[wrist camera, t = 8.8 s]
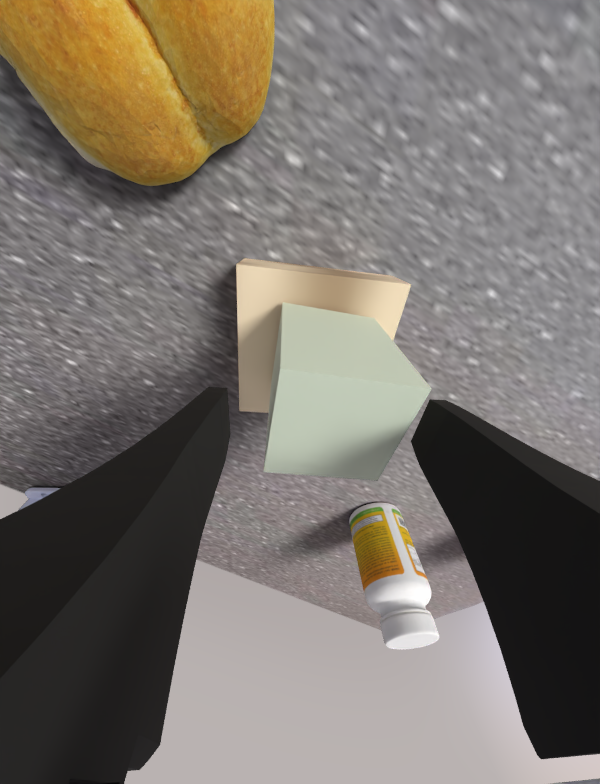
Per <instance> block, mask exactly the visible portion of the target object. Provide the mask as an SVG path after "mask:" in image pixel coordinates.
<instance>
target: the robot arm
mask: <svg viewBox="0 0 600 784" xmlns="http://www.w3.org/2000/svg"><path fill="white" fill-rule="evenodd" d="M229 438H230V423H229V408H228V393H227V388H213V387H208V388H207V389H206V390H205V391H203V392H202V393H201V394H200V395H199V396H197V397H196V398H195V399H194V400H192V401H191V402H190V403H189V404H188V405H186V406H185V407H184V408H183V409H182V410H180V411H179V412H178V413H177V414H175V415H174V416H173V417H172V418H170V419H169V420H168V421H167V422H165V423H164V424H163V425H161V426H160V427H158V428H157V429H156V430H154V431H153V432H152V433H150V434H149V435H147V436H146V437H145V438H143V439H142V440H140V441H139V442H138V443H136V444H135V445H133V446H132V447H130V448H129V449H127V450H126V451H124V452H123V453H121V454H120V455H118V456H116V457H115V458H113V459H111V460H110V461H108V462H107V463H105V464H103V465H102V466H100V467H98V468H97V469H95V470H93V471H92V472H90V473H88V474H86V475H85V476H83V477H81V478H79V479H77V480H75V481H73V482H72V483H70V484H68V485H66V486H64V487H62V488H29V489H28V490H27V491H26V492H25V494H26V496H27V497H28V498H29V499H28V500H27V501H26V503H25V504H24V505H23V506H22V507H21V508H20V509H19V510H18V511H17V512H15V513H12V514H11V515H8V516H6V517H5V518H2V519H0V784H124V781H125V778H126V774H127V771H131V770H140V769H141V768H142V767H143V766H144V765H145V763H146V762H147V761H148V760H149V759H150V757H151V756H152V755H153V754H154V752H155V751H156V749H157V748H158V747H159V745H160V742H161V736H162V730H163V725H164V719H165V714H166V708H167V703H168V697H169V692H170V686H171V680H172V675H173V670H174V665H175V659H176V654H177V649H178V644H179V639H180V634H181V629H182V624H183V619H184V614H185V609H186V604H187V600H188V595H189V590H190V585H191V581H192V576H193V571H194V567H195V562H196V558H197V553H198V549H199V545H200V540H201V536H202V533H203V529H204V526H205V522H206V519H207V516H208V513H209V510H210V507H211V504H212V500H213V497H214V494H215V491H216V488H217V485H218V482H219V479H220V476H221V472H222V469H223V466H224V463H225V459H226V454H227V449H228V444H229ZM411 443H412V446H413V449H414V451H415V454H416V457H417V460H418V462H419V465H420V467H421V469H422V471H423V473H424V475H425V477H426V479H427V480H428V482H429V484H430V486H431V488H432V490H433V492H434V493H435V495H436V497H437V499H438V501H439V503H440V505H441V506H442V508H443V510H444V512H445V514H446V516H447V517H448V519H449V521H450V523H451V525H452V527H453V529H454V531H455V533H456V535H457V537H458V539H459V541H460V544H461V546H462V548H463V551H464V553H465V556H466V558H467V560H468V563H469V565H470V567H471V570H472V572H473V575H474V577H475V580H476V583H477V585H478V588H479V590H480V593H481V595H482V598H483V601H484V603H485V606H486V609H487V611H488V614H489V617H490V620H491V623H492V626H493V629H494V632H495V634H496V637H497V640H498V643H499V646H500V648H501V652H502V655H503V658H504V661H505V665H506V668H507V671H508V674H509V678H510V681H511V684H512V688H513V691H514V694H515V697H516V700H517V704H518V708H519V712H520V715H521V719H522V722H523V726H524V728H525V730H526V732H527V734H528V736H529V738H530V741H531V743H532V745H533V747H534V749H535V751H536V753H537V755H538V756H539V758H541V759H548V758H559V757H571V756H582V755H593V754H600V481H598V480H596V479H594V478H592V477H590V476H587V475H585V474H583V473H581V472H579V471H577V470H575V469H573V468H571V467H569V466H567V465H565V464H563V463H561V462H559V461H557V460H555V459H553V458H551V457H549V456H547V455H545V454H543V453H541V452H540V451H538V450H536V449H534V448H532V447H530V446H528V445H527V444H525V443H523V442H521V441H519V440H517V439H516V438H514V437H512V436H510V435H509V434H507V433H505V432H503V431H502V430H500V429H498V428H496V427H495V426H493V425H491V424H489V423H488V422H486V421H484V420H482V419H481V418H479V417H477V416H475V415H474V414H472V413H470V412H468V411H466V410H464V409H463V408H461V407H459V406H457V405H455V404H453V403H450V402H448V401H446V400H429V403H428V405H427V407H426V409H425V411H424V414H423V416H422V418H421V420H420V422H419V425H418V427H417V429H416V431H415V434H414V436H413V438H412V440H411ZM553 784H600V779H591V780H582V781H572V782H562V783H553Z"/></svg>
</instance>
